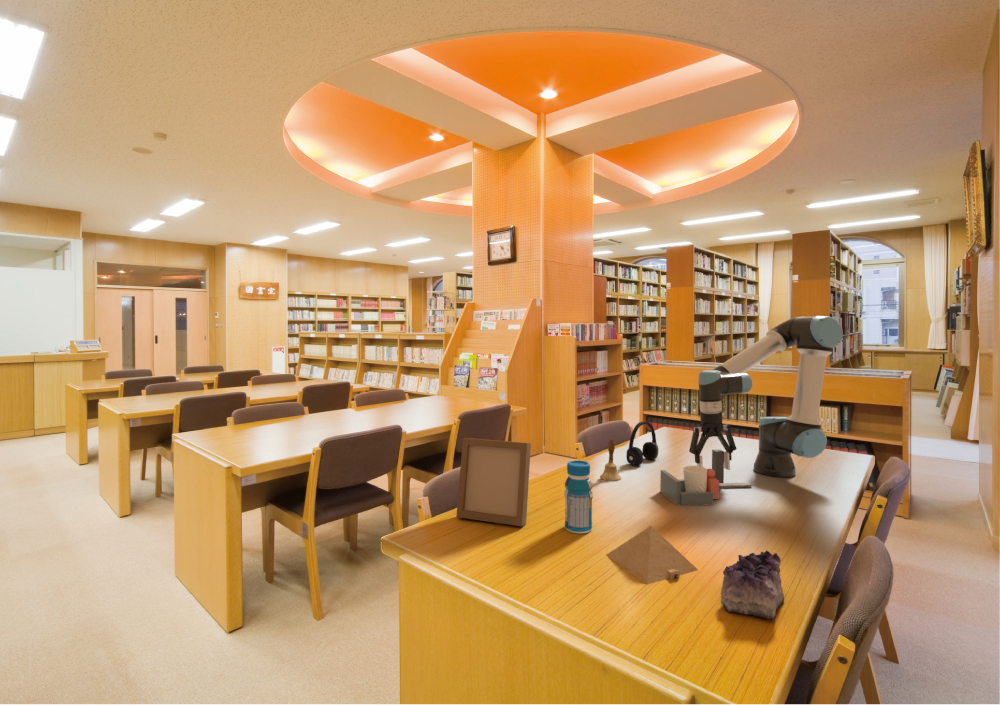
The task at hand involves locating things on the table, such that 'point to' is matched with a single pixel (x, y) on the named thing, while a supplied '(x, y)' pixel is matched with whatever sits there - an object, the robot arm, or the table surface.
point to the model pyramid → (651, 557)
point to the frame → (676, 495)
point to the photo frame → (494, 481)
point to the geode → (753, 585)
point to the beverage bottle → (578, 498)
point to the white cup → (695, 478)
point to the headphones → (648, 449)
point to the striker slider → (715, 473)
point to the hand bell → (610, 465)
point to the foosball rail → (734, 485)
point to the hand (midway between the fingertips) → (713, 470)
